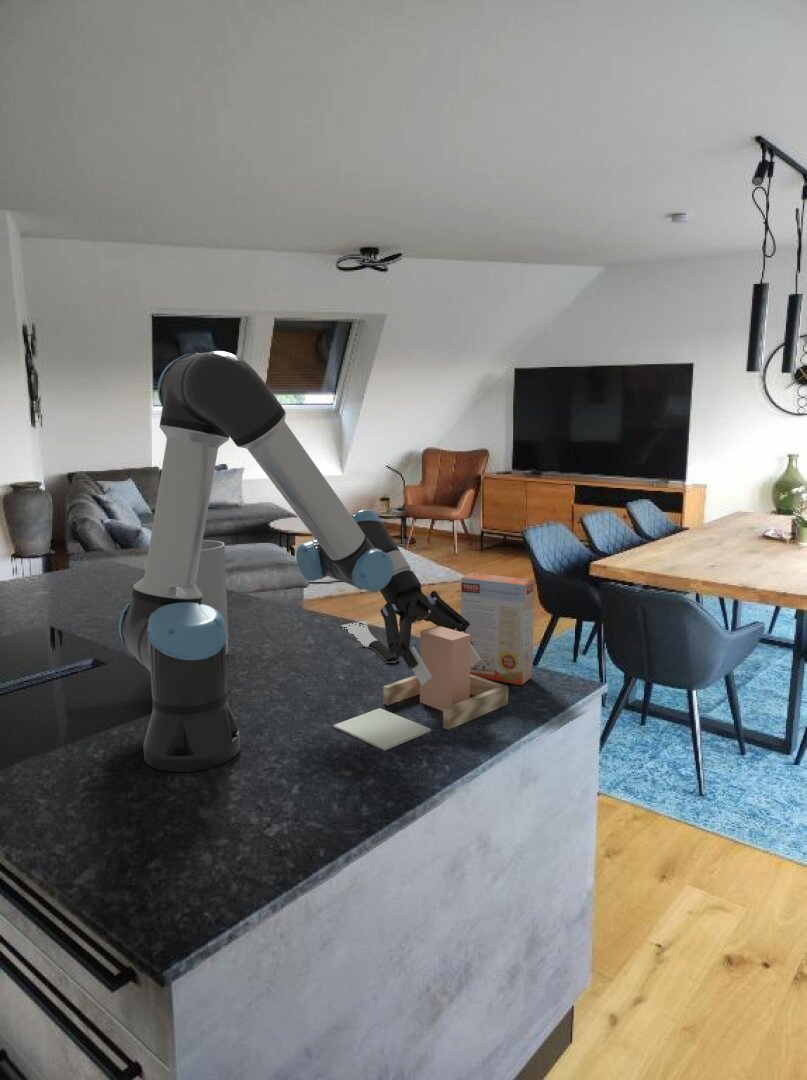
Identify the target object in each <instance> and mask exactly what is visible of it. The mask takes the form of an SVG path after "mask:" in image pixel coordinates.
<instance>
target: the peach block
mask: <svg viewBox="0 0 807 1080" xmlns="http://www.w3.org/2000/svg"><path fill="white" fill-rule="evenodd" d="M456 630H457V629H455V630H452V629H448V628H445V627H441V626H437V625H435V626H433V627H430V628H426V629H423V630H420V633H419V637H420V638H419V639H420V640H419V647H420V648H419V656H420V657H421V659H422V661H423V662H424V664H425V665H426V667H427V669H428V670H429V672H430V674H431V675H432V678H431V679H430V680H429V681H428V682H427V683H426V684H425V685H421V683H420V694H419V703H420V704H422V703H423V704H422V705H425V704H426V705H425V706H428V707H430V706H431V707H430V708H433V707H434V708H433V709H435V708H436V710H438V711H441V712H443V709H444V708H447V707H449V706H452V705H454V704H457V703H459V702H462V701H464V700H467V699H469V698H471V697H470V695H471V694H470V647H471V635H470V634H466V633H463V632H459V631H456Z"/></svg>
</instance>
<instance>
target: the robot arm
mask: <svg viewBox="0 0 807 1080" xmlns="http://www.w3.org/2000/svg"><path fill="white" fill-rule="evenodd" d="M157 383H158V384H157V397H158V400H159V403H160V405H161V407H162V409H161V415H160V421H159V428H160V429H161V431H162V433H163V434H164V436H165V438H166V442H165V448H164V455H163V462H162V467H161V472H160V477H159V478H160V479H159V485H158V492H157V498H156V503H155V508H154V515H153V520H152V528H151V532H150V533H151V534H150V540H149V546H148V551H147V557H146V558H147V559H146V563H145V564H146V565H145V571H144V576H143V577H142V578H141V579H140V580H139V581H137V582H136V583H134V584H133V586H132V593H131V599H130V601H129V603H127V604H126V605H125V607H124V608H123V610H122V612H121V615H120V618H119V622H118V623H119V624H118V631H119V637H120V639H121V642H122V644H123V645H124V647H125V649H126V651H127V652H128V654H130V655H131V657H132V658H133V659H135V660H136V661H138V662H139V663H140V664H141V665H142V666H144V667H145V668H146V670H148V671H149V672H150V681H151V697H152V711H151V714H150V715H151V716H150V719H149V722H148V726H147V729H146V733H145V737H144V739H143V745H142V746H143V747H142V748H143V759H144V761H145V763H146V764H147V765H148V766H150V767H151V768H154V769H157V770H160V771H165V772H171V773H172V772H173V773H188V772H190V773H191V772H198V771H203V770H207V769H211V768H215V767H218V766H221V765H223V764H225V763H227V762H228V761H229V762H230V761H231V760H232V759H233V758H235V757H236V756H237V755H238V753H239V752H240V749H241V735H240V730H239V729H238V726H237V723H236V721H235V718H234V715H233V712H232V710H231V708H230V705H229V701H228V677H227V676H228V675H227V674H228V672H227V671H228V670H227V669H228V667H227V666H228V665H227V655H226V631H225V630H226V629H225V627H224V619H223V617H222V615H221V614H220V612H219V611H217V610H216V609H214V608H213V607H210V606H208V605H201V602H202V596H203V594H202V593H201V591H200V590H199V589H198V587H197V586H196V577H197V571H198V565H199V559H200V553H201V547H202V541H203V540H204V535H205V529H206V523H207V517H208V511H209V504H210V500H211V499H210V498H211V493H212V487H213V481H214V475H215V468H216V464H217V458H218V453H219V448H220V447H221V446H222V445H224V444H225V443H226V442H228V441H229V440H230V439H231V441H233V443H234V444H235V446H236V447H238V448H243V449H246V450H247V451H248V452H249V454H250V455H251V456H252V458H253V459H254V460H255V461H256V463H257V464H258V465H259V466H260V469H262V471H263V472H264V473H265V474H266V476H267V477H268V479H269V480H270V481H271V482H272V484H273V485H274V487H275V488H276V489H277V491H278V492H279V493H280V494H281V496H282V498H284V500H285V501H286V503H288V505H289V507H290V508H291V509H292V510H293V511H294V512H295V514H296V516H297V518H299V519H300V521H301V522H302V523H303V524H304V526H305V527H306V529H307V530H308V531H309V532H310V534H311V535H312V537H313V538H311V540H308V541H305V542H303V543H301V544H300V545H299V546H297V549H296V553H295V554H296V555H295V559H296V564H297V566H298V567H297V568H298V570H299V571H300V574H301V575H302V576H303V577H304V579H306V580H307V581H310V582H314V581H317V580H323V579H325V578H326V577H330V578H332V579H334V580H337V581H340V582H343V583H346V584H348V585H351V586H353V587H355V588H357V589H359V590H364V591H368V592H379V591H380V594H381V596H382V597H383V598H384V600H385V602H386V603H385V604H384V605H383V607H381V609H380V614H381V616H382V618H383V621H384V628H385V629H384V630H385V636H386V643H387V648H388V651H389V653H390V654H395V655H396V656H397V657H399V658H401V657H402V659H403V660H404V662H405V664H406V666H407V667H408V668H409V669H410V670H412V671H413V673H414V676H415V675H416V677H417V678H418V680H419V682H420V683H421V685H425V684H426V683H427V682H428V681H429V680H430V679H431V678H432V675H431V674H430V672H429V670H428V669H427V667H426V665H425V664H424V662H423V661H422V659H421V657H420V653H418V651H417V648H415V646H412V647H411V638H412V637H411V635H412V626H413V624H415V623H416V622H422V621H425V622H430V623H432V624H434V625H435V626H441V627H445V628H448V629H452V630H456V631H459V632H463V633H466V631H465V630H466V629H467V628H468V626H470V624H469V622H468V621H467V620H465V619H464V618H463V617H462V616H461V613H459V612H457V610H455V609H454V608H453V607H452V606H450V604H448V603H447V602H446V601H444V600H443V599H442V598H441V597H440V595H439V593H438V592H437V591H435V590H432V592H430V593H429V594H427V595H425V594H424V592H423V591H422V583H421V581H420V580H419V578H418V577H417V575H416V574H415V572H414V571H413V570H412V568H411V565H410V564H409V562H408V561H407V559H406V558H405V556H404V554H403V553H402V552H401V550H400V549H399V547H398V545H397V543H396V542H395V540H394V539H393V537H392V535H391V534H390V532H389V531H388V529H387V526H386V524H385V523H384V522H383V521H382V519H381V518H380V517H379V516H378V514H377V513H376V512H375V511H374V510H372V509H366V508H365V509H361V510H358V511H356V513H354V514H351V513H350V512H349V511H348V509H347V507H346V506H345V505H344V503H343V502H342V501H341V499H340V498H339V496H338V495H337V493H336V492H335V490H334V489H333V487H332V486H331V485H330V484H329V482H328V481H327V479H326V478H325V476H324V475H323V473H322V472H321V470H320V469H319V468H318V466H317V465H316V464H315V462H314V460H312V458H311V456H310V455H309V453H307V451H306V450H305V448H304V446H303V445H302V444H301V442H300V441H299V440H298V438H297V436H296V435H295V434H294V433H293V431H292V430H291V428H290V427H289V425H288V424H287V423H286V421H285V420H286V415H287V412H286V410H285V408H284V407H283V406H282V404H281V403H280V402H279V400H278V399H277V398H276V396H275V394H274V393H273V392H272V391H271V389H270V387H268V385H267V383H265V381H264V380H263V378H261V376H260V375H259V374H258V372H257V371H256V370H255V369H254V368H253V367H252V366H251V365H250V364H249V363H248V362H247V361H245V360H244V359H243V358H241V357H240V356H238V355H236V354H233V353H231V352H228V351H223V350H214V351H209V352H201V353H199V352H192V353H187V354H184V355H182V356H179V357H178V358H176V359H174V360H173V361H171V362H170V363H169V364H168V365H167V366H165V368H164V370H163V371H162V373H161V375H160V376H159V380H158V382H157ZM397 616H399V620H398V617H397ZM398 621H399V622H398ZM461 624H462V625H461ZM480 660H481V658H480V657H479V655H478V653H477V652H476V650H475V649H474V647H473V643H472V641H471V647H470V667H474V666H475V665H476V664H477V663H478V662H479V661H480Z"/></svg>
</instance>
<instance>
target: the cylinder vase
mask: <svg viewBox="0 0 807 1080" xmlns="http://www.w3.org/2000/svg"><path fill="white" fill-rule="evenodd" d="M225 546H226V545H225V542H223V541H219V540H210V539H208V540H206V539H203V541H202V547H201V553H200V559H199V565H198V571H197V577H196V586H197V587H198V589H199V590H200V591H201V593H202V594H203V596H202V602H201V605H208V606H210V607H213V608H214V609H216V610H217V611H219V612H220V614H221V615H222V617H223V619H224V627H225V629H226V630H225V631H226V656H227V655H228V654H229V633H228V627H229V626H228V608H227V607H228V606H227V601H228V600H227V577H226V576H227V575H226V555H225V554H226V549H225Z"/></svg>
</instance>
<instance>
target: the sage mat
mask: <svg viewBox="0 0 807 1080" xmlns="http://www.w3.org/2000/svg"><path fill="white" fill-rule="evenodd" d="M333 728H334V729H336V730H339V731H341V732H343V733H346V734H348V735H350V736H352V737H354V738H356V739H359V740H360V741H363V742H365V743H367V744H369V745H372V746H373V747H376V748H378V749H380V750H382V751H384V752H385V751H388V750H390V749H392V748H394V747H397V746H399V745H401V744H404V743H406V742H408V741H411V740H413V739H416V738H418V737H420V736H423V735H425V734H428V733H430V732H432V729H431V728H430V727H427V726H425V725H422V724H420V723H417V722H416V721H412V720H411V719H408V718H406V717H405V718H404V717H403V716H400V715H399V714H398V715H397V714H395V713H392V712H391V711H388V710H385V709H383V708H381V707H379V708H377V709H373V710H371V711H369V712H365V713H362V714H360V715H357V716H354V717H351V718H350V719H347V720H343V721H341V722H338V723H335V724H333Z"/></svg>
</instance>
